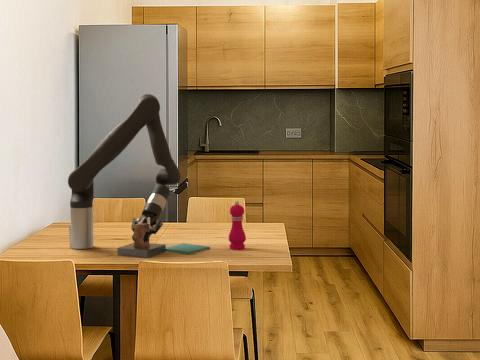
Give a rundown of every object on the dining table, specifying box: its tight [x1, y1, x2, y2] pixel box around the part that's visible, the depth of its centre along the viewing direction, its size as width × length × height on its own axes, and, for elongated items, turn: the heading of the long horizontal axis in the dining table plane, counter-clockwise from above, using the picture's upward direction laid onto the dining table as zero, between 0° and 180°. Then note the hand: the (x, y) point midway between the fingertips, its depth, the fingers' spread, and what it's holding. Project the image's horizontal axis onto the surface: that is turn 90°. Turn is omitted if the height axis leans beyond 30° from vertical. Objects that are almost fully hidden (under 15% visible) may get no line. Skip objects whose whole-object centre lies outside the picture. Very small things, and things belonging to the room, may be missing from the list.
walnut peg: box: [133, 223, 150, 248], centre depth 310 cm, size 4×4×12 cm
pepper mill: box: [228, 200, 247, 251], centre depth 319 cm, size 7×7×20 cm
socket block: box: [117, 242, 167, 259], centre depth 310 cm, size 14×14×3 cm
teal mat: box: [166, 242, 211, 255], centre depth 318 cm, size 14×14×1 cm
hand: (139, 240), depth 308 cm, fingers closed on walnut peg, 4 cm apart
